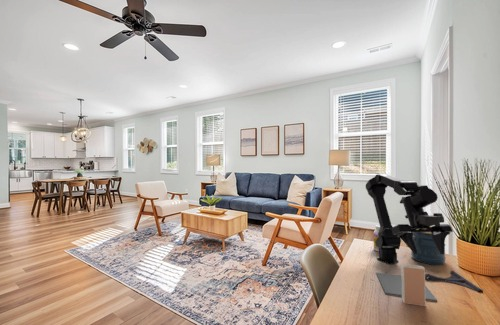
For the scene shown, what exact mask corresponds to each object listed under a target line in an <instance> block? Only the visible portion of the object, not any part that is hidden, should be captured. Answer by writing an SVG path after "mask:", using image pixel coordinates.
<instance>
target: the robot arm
mask: <svg viewBox="0 0 500 325" xmlns="http://www.w3.org/2000/svg"><path fill="white" fill-rule="evenodd" d="M388 187H389V188H392V189H393V192H394V193H396V194H397V195H398V196H402V197H401V199H400V200H399V204H403V207H404V210H405V213H406V215H404V217H405V219H407V220H408V223H409V224H408V223H406V224H405V223H403V224H402V223H401V224H396V225H395V226H393V225H392V222H391V218H390V214H389V211H388V207H387V202H386V201H385V195H386V192H387V190H386V189H387V188H388ZM365 190H366V191H367V194H368V195H369V196H370V197H371V199H372V200H373V203H374V208H375V211H376V215H377V220H378V223H379V224H378V225H380V230H379V232H378V236H379V237H378V238H377V240H376V241H375V244H376V246H377V247H378V248H379V251H378V257H376V260H378V261H380V262H382V263H386V264H388V265H392V264H393V265H394V264H396V263H399V260H398V253H397V250H399V249H400V247H401V243H402V241H403V242H404V244H405V245H407V247H408V248H409V250H411V251H412V252H413V253H414V254H417V249H416V246H415V244H414V241H413V233H411V232H431V233H432V234H433V236H432V238H433V240H434V242H435V244H436V246H437V248H438V250H439V252H440V253H441V254H444V244H445V245H446V237H447V236H449V235H450V234H451V233H453V232H454V231H453V229H452V226H451V225H450V224H448V223H445V217H444V215H443V213H441V212H440V213H439V212H438V213H437V212H434V213H433V215H429V213H428V212H427V211H424V208H426V207H428V206H430V205H432V204H433V203H436V202H437V201H438V199H439V198H438V194H437V193H436V192H435V191H434V190H433V189H432V188H429V187H428V185H425V184H424V185H423V184H422V185H419V184H418V183H417V181H414V180H404V179H400V178H397V177H394V176H392V175H389V174H388V173H378V174H375V176H373V177H372V178H370V179H368V181H367V182H366V184H365ZM442 223H443V224H442ZM429 226H432V227H429ZM416 229H419V230H416ZM424 229H426V230H424Z"/></svg>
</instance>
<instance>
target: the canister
mask: <svg viewBox="0 0 500 325" xmlns="http://www.w3.org/2000/svg"><path fill="white" fill-rule="evenodd" d="M429 227H432V226H429ZM416 230H419V229H416ZM424 230H426V229H424ZM410 233H413V241H414V244H415V246H416V249H417V254H414V253H413V252H412V250H411V251H410V252H411V258H412V259H413V260H415V261H417V262H419V263H422V264H427V265H432V266H433V265H435V266H441V265H445V264H446V258H447V257H446V243H445V244H444V254H441V253H440V252H439V250H438V248H437V246H436V244H435V242H434V240H433V238H432V236H433V234H432V233H431V232H410Z"/></svg>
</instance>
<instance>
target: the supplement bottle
mask: <svg viewBox="0 0 500 325" xmlns="http://www.w3.org/2000/svg"><path fill="white" fill-rule="evenodd" d="M379 230H380V224H375V229H374V231H373V250H374V251H376V252H379V248H378V247H377V246H376V244H375V241H376V240H377V238H378V237H379V236H378V232H379Z"/></svg>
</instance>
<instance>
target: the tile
mask: <svg viewBox="0 0 500 325" xmlns="http://www.w3.org/2000/svg"><path fill="white" fill-rule="evenodd" d="M400 266H401V268H400V270H401V274H400V275H401V276H402V297H401V300H402V303H403V304H409V305H415V306H420V307H426V302H427V300H425V286H426V280H425V274H426V271H425V270H426V269H425V267H424V266H423V265H417V264H410V263H409V264H408V263H407V264H406V263H401V264H400Z"/></svg>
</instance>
